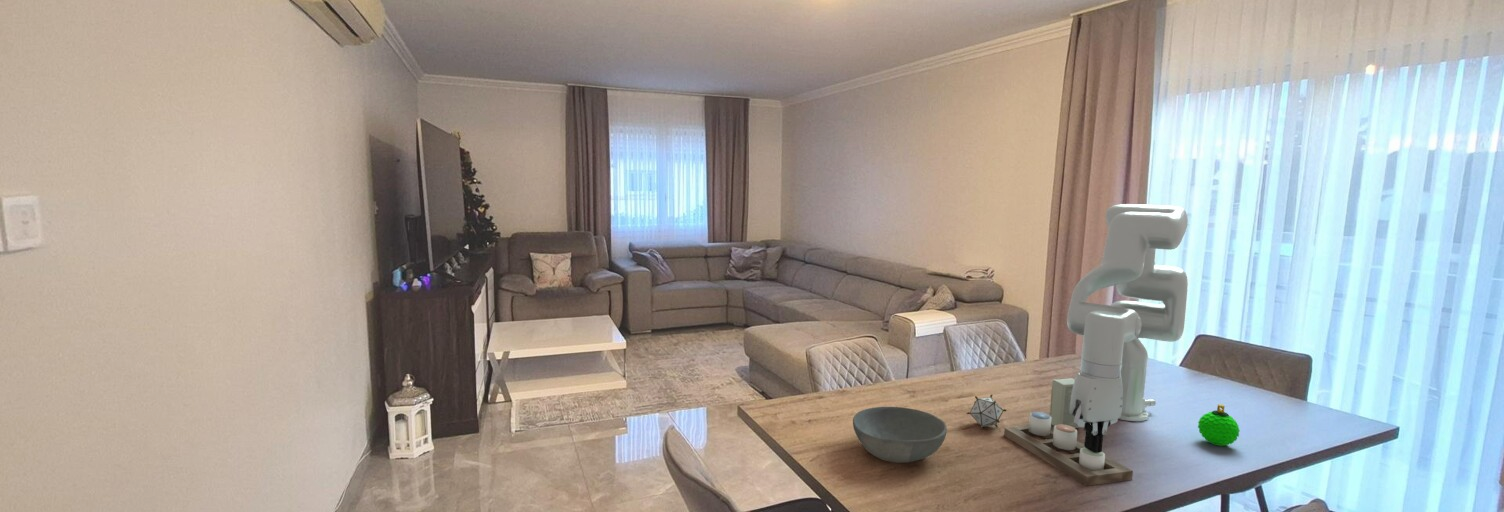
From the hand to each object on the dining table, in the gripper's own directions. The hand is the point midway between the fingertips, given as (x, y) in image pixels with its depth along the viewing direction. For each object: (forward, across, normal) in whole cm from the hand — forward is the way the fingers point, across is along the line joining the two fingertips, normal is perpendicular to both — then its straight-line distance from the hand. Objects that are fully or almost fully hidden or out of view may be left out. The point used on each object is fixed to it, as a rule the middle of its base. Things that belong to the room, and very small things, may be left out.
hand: (1092, 449), depth 133 cm
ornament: (+6, -43, -5) cm, 43 cm away
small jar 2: (+2, 0, -8) cm, 8 cm away
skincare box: (+5, -14, -23) cm, 27 cm away
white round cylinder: (+4, 0, 0) cm, 5 cm away
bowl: (+5, +38, -17) cm, 42 cm away
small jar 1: (+3, 0, -16) cm, 16 cm away
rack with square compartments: (+5, 0, -8) cm, 9 cm away
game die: (+5, +7, -27) cm, 28 cm away
